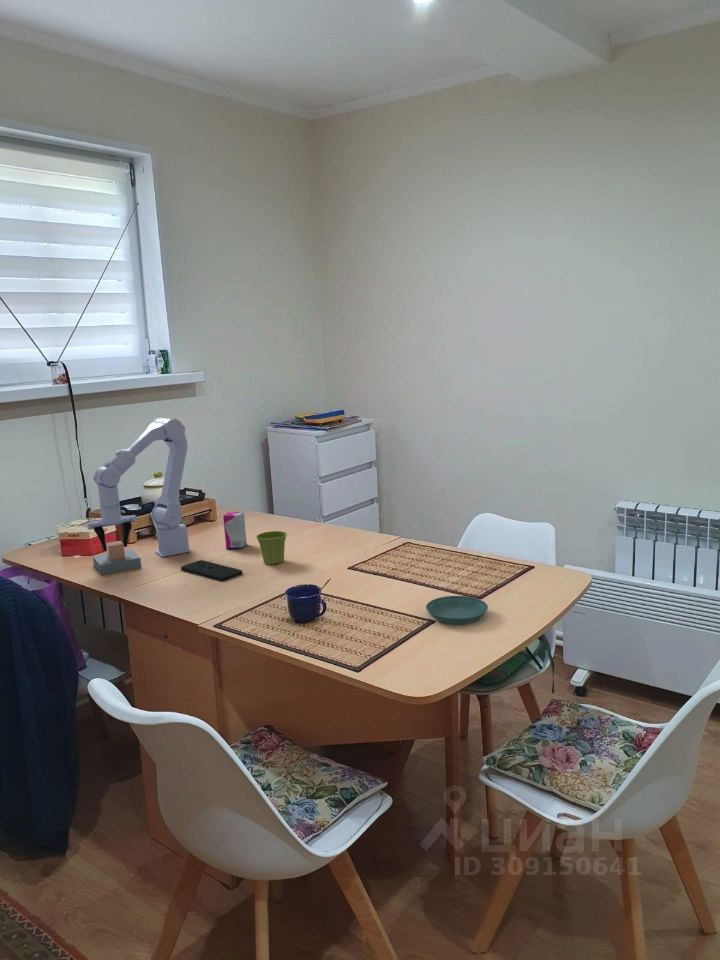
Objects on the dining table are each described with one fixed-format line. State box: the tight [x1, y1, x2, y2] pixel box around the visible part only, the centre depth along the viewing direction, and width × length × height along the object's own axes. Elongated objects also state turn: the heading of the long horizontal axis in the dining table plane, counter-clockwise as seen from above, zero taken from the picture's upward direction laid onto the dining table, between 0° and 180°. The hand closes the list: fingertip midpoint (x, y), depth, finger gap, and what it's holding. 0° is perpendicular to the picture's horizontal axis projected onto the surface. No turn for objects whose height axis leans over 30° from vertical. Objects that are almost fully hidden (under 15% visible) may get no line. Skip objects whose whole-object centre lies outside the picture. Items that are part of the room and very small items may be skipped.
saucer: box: [425, 595, 489, 626], centre depth 182 cm, size 15×15×3 cm
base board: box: [92, 548, 142, 576], centre depth 236 cm, size 12×12×3 cm
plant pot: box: [255, 530, 288, 566], centre depth 231 cm, size 9×9×9 cm
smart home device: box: [180, 559, 243, 582], centre depth 226 cm, size 8×2×20 cm
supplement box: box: [222, 511, 248, 550], centre depth 250 cm, size 6×6×12 cm
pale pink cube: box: [105, 540, 125, 560], centre depth 235 cm, size 4×4×4 cm
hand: (115, 548), depth 236 cm, fingers open, 6 cm apart
